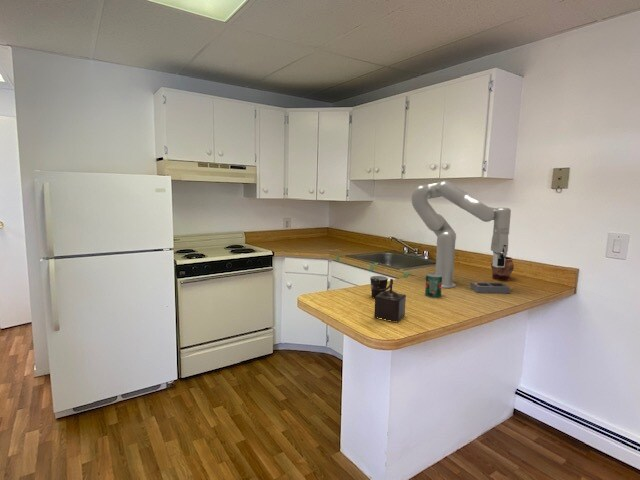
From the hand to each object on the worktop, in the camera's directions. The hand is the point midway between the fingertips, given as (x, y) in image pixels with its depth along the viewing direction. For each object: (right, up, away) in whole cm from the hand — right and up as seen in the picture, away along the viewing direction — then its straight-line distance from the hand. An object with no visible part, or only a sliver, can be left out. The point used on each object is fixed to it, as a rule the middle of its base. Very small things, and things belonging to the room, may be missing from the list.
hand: (498, 264), depth 192 cm
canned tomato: (-37, -16, -8) cm, 41 cm away
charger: (0, -1, 0) cm, 1 cm away
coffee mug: (-66, -15, -10) cm, 68 cm away
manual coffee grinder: (-67, -20, -41) cm, 81 cm away
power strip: (-4, -14, +6) cm, 15 cm away
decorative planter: (+15, -11, +28) cm, 33 cm away
